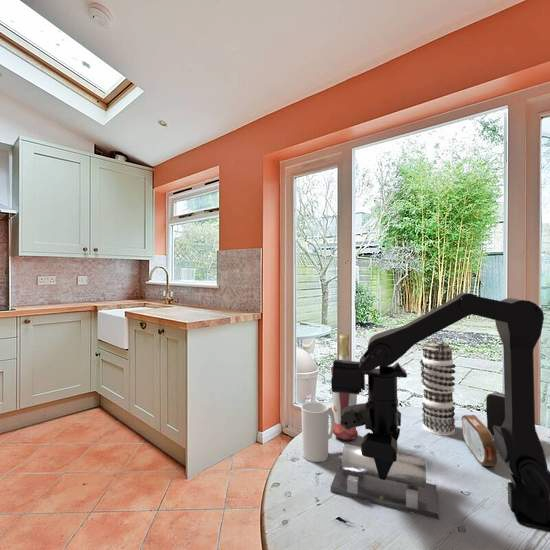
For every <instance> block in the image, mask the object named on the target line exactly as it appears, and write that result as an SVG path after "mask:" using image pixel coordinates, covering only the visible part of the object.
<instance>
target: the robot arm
mask: <svg viewBox="0 0 550 550" xmlns="http://www.w3.org/2000/svg"><path fill="white" fill-rule="evenodd" d="M471 315H473V316H478V317H481V318H482V317H483V318H486V319H490V320H493V321H494V322H495V326H496V331H497V333H498V335H499V337H500V341H501V343H502V347H503V348H502V349H503V383H504V384H503V385H504V388H503V390H504V394H505V420H504V422H503V424H502V426H501V427H499V426H495V425H493V431H494V435H493V436H494V437H493V439H494V441H493V446H494V447H495V448H496V450H497V454H498V455H499V457H500V458H501V460H502V461H503V463H504V464H505V465H506V467H507V468H508V469H509V471H510V472H511V474H510V481H508V482H507V503H508V506H509V508H510V511H511V512H512V514H513V515H514V518H515V519H516V522H517V523H519V524H521V525H526V526H529V527H535V528H538V529H543V530H547V531H550V470H549V469H548V463H547V458H546V456H545V455H546V454H545V451H544V450H545V449H544V448H543V445H542V443H541V440H540V438H539V435H538V432H537V429H536V411H535V410H536V407H535V405H536V404H535V403H536V402H535V368H534V366H535V365H534V364H535V363H534V358H535V357H534V350H535V348H536V345H537V344H538V342H539V340H540V338H541V335H542V330H543V326H544V320H545V315H544V311H543V309H542V308H541V307H540V306H538V304H537V303H535V302H532V301H531V300H526V299H518V298H511V297H510V298H504V299H501V300H498V299H492V298H487V297H482V296H479V295H478V296H477V295H476V294H473V293H470V292H460V293H458V294H456V295H455V296H454V298H451V299H449V300H448V301H446V302H444V303H442V304H441V305H439V306H437V307H435V308H433V309H431V310H430V311H428V312H426V313H424V314H423V315H420V316H419V317H417V318H415V319H413V320H412V321H410V322H408V323H406V324H404V325H401V326H398V327H394V328H391V329H387V330H385V331H384V330H383V331H382V332H378V333H375V334H373V335H372V336H371V337H370V338H369V340H368V344H367V349H366V351H365V352H364V354H363V355H362V356H360V358H359V361H356V360H350V361H343V360H339V358H338V359H337V358H335V359H333V362H332V363H333V364H332V366H333V374H332V377H331V378H330V380H331V383H330V384H331V385H330V386H331V392H337V393H348V394H357V395H360V393H362V391H365V390H366V389H365V388H366V376H367V377H368V378H367V391H368V392H367V393H368V395H367V401H366V402H365V403H364V402H363V403H357V405H352V406H348V407H345V408H344V409H343V410H342V412H341V414H340V415H341V424H342V425H344V426H345V429H351V428H353V427H356V428H357V427H358V428H359V427H362V426H364V427H365V429H364V430H370V431H371V432H368V433H366V434H365V435H364V436H363V437H362V439H361V443H360V447H361V454H362V455H363V456H365V457H370V458H374V461H375V464H376V468H377V471H378V475H379V478H380V479H381V480H385V479H386V477H387V475H388V473H389V470H390V468H391V466H392V464H393V462H396V461H397V454H398V451H399V449H398V439H399V437H400V434H401V433H400V432H401V428H399V427H401V426H402V424H401V423H402V413H401V412H400V411H399V409H398V406H399V398H398V378H406V379H407V377H408V373H407V372H406V371H407V370H406V369H404V368H403V367H402V366H401V364H400V363H399V362H396V361H398V360H399V359H401V358H402V357H403V356H404V355H406V353H407V352H408V351H409V350H410V349H411V348H412V347H414V345H416V344H417V343H419V342H422V341H423V340H425V339H427V338H429V337H430V336H433V335H434V334H436V333H438V332H440V331H442V330H444V329H445V328H447V327H449V326H452V325H453V324H455V323H457V322H459V321H461V320H463V319H465V318H466V317H468V316H471ZM394 363H395V364H394ZM392 364H393V366H392ZM378 367H379V368H378Z"/></svg>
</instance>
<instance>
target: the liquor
mask: <svg viewBox="0 0 550 550" xmlns="http://www.w3.org/2000/svg"><path fill="white" fill-rule="evenodd" d="M338 342H339V343H338V344H339V356H338V359H339V360H343V361H351V360H350V353H349V351H350V350H349V342H350V335H348V334H339V335H338ZM330 373H331V378H332V374H333V365H332V366H331V367H330ZM331 392H332V391H331ZM357 399H358V394H348V393H337V392H332V406H333V408H332V411H333V413H334V418H335V423H334V429H333V434H334V436H336V438H337V439H339V440H341V439H342V440H341V441H346V440H347V441H352V440H353V439H355V438H356V437H357V436H358V430H357V427H353V428H351V429H345V426H344V425H342V424H341V415H340V414H341V412H342V410H343V409H344V408H345V407H348V406H352V405H357V404H358V403H357V402H358V401H357Z"/></svg>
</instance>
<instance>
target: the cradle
mask: <svg viewBox="0 0 550 550" xmlns="http://www.w3.org/2000/svg"><path fill="white" fill-rule="evenodd" d="M330 492H331V493H335V494H338V495H342V496H347V497H351V498H354V499H358V500H361V501H366V502H369V503H373V504H378V505H381V506H385V507H389V508H393V509H396V510H400V511H404V512H409V513H412V514H416V515H419V516H424V517H427V518H432V519H435V520H440V513H439V510H440V509H439V500H438V498H439V497H438V488H437V484H432V483H429V482H426V488H422V487H417V486H413V485H408V484H404V483H399V482H395V481H390V480H386V479H385V480H381V479H380V478H377V477H373V476H368V475H364V474H359V473H355V472H351V471H346V470H343V468H342V463H339V466H338V468H337V470H336V472H335V475H334V478H333V480H332V482H331V484H330Z"/></svg>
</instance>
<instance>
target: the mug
mask: <svg viewBox="0 0 550 550" xmlns="http://www.w3.org/2000/svg"><path fill="white" fill-rule="evenodd" d="M300 415H301V441H302V443H301V445H302V456H303V457H304V459H305V460H307V461H308V462H313V463H321V462H323V461H324V462H325V460H327V459H328V457H329V440H330V439H332V437H333V434H334V433H333V429H334V423H335V418H334V411H333V408H332V406H331V405H329V406H328V404H327V403H323V402H318V401H309V402H305V403H303V404H301V414H300ZM329 417H330V424H329Z"/></svg>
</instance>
